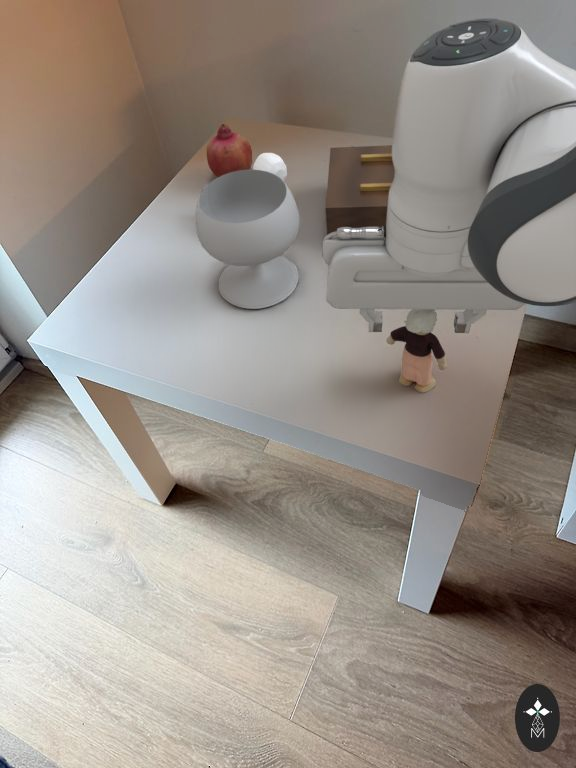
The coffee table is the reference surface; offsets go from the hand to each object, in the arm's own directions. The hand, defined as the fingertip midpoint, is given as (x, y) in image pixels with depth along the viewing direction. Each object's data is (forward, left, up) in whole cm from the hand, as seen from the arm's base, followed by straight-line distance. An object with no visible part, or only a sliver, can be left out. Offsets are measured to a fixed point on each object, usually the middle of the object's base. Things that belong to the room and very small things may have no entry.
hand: (417, 328), depth 60 cm
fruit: (+30, -45, -10) cm, 55 cm away
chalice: (+22, -18, -10) cm, 30 cm away
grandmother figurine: (0, 0, -10) cm, 10 cm away
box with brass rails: (+1, -34, -10) cm, 35 cm away
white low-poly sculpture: (+25, -34, -10) cm, 43 cm away
